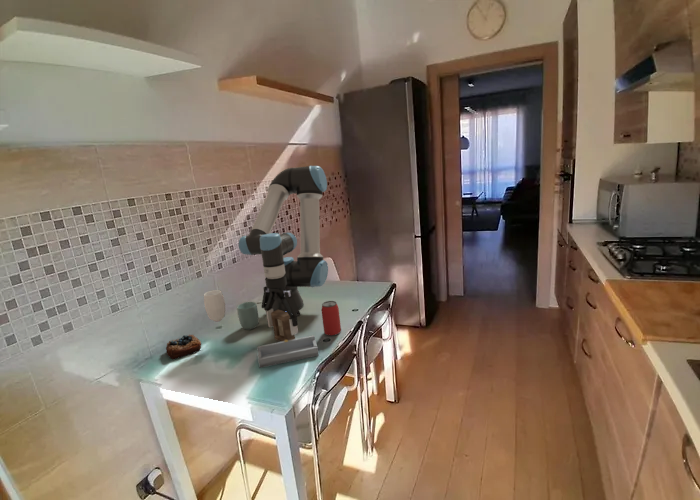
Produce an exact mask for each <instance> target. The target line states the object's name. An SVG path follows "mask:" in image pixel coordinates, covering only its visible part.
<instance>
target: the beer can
mask: <svg viewBox="0 0 700 500" xmlns="http://www.w3.org/2000/svg"><path fill="white" fill-rule="evenodd" d="M340 317H341V316H340V310H339V306H338V303H337V301H336V300H326V301H325V302H323V303H322V304H321V318H322V319H321V320H322V326H323V333H324V334H325V335H326V336H328V337H329V336H331V337H332V336H336V335H339V334H340V333H341V331H342V328H341V319H340Z"/></svg>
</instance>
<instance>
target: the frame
mask: <svg viewBox="0 0 700 500" xmlns="http://www.w3.org/2000/svg"><path fill="white" fill-rule="evenodd" d="M271 317H272V324H273V326H272V330H273V334H274V335H273V336H274V340H276V341H278V342H282V341H284V340H292V339H296V334H294V335H291V330H290V322H289V318H290V316H289V314H288V313H287V312H285V311H282V310H276V311H273V312H271Z"/></svg>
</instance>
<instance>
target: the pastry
mask: <svg viewBox="0 0 700 500" xmlns="http://www.w3.org/2000/svg"><path fill="white" fill-rule="evenodd" d="M201 348H202V342H201V340H200V339H199V338H198V337H197V336H195V335H194V334H187V335H183V336H182V337H179V338H177V339H172V340H169V341H168V342H167V343H166V347H165V349H166V351H165V352H166V354H167V356H168V357H169V358H170V359H171V360H173V361H174V360H176V359H179V358H180V359H181V358H184V357H186V356H189V355H193V354H195V353H197V352H199V350H200V349H201ZM200 351H201V350H200ZM194 352H195V353H194Z"/></svg>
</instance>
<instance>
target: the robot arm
mask: <svg viewBox="0 0 700 500" xmlns="http://www.w3.org/2000/svg"><path fill="white" fill-rule="evenodd" d="M327 180H328V179H327V176H326V173H325V171H324V169H323V168H322V167H321V166H319V165H308V166H297V167H288V168H286V169H284V170H282V171H280V172H279V173H278V174H277V175H275V176H274V178H273V179H272V181H271V182H270V184H269V185H268V188H267V195H266V197H265V200H264V202H263V204H262V206H261V207H260V210H259V212H258V215H257V217H256V219H255V221H254V223H253V225H252V227H251V229H250V231H249V234H248V235H242V236H241V237H240V238H239V240H238V249H239V251H240V253H241V254H243V255H251V256H253V255H254V256H255V255H261V259H262V266H263V272H264V273H263V274H264V277H265V279H264V281H265V286H264V287H263V294H262V295H263V296H262V302H261V305H260V306H261V309H264V310H265V314H266V318H267V324H268V328H271V327H272V328H273V324H272V317H271V312H273V311H276V310H282V311H287V313H288V314H289V316H290V318H289V322H290V330H291V335H294V334H295V335H296V334H299V330H298V328H299V327H298V324H299V323H298V317H300V316H301V311H300V309H302V308H303V307H304V299H303V298H302V296H301V293H300V292H299V289H298V288H301V287H302V288H315V287H316V288H319V287H323V286H324V284H325V283H326V282H327V278H328V275H329V274H328V273H329V265H328V262H327V261H326V260H324V256H323V255H322V254H321V244H320V243H321V242H320V241H321V240H320V238H321V237H320V235H321V234H320V232H321V231H320V228H321V227H320V226H321V225H320V200H321V199H322V197H323V196H324V195H323V193H324V192H326V191H327V190H328V181H327ZM294 194H296V198H298V199H299V204H300V205H299V208H300V209H299V210H300V211H299V213H300V214H299V215H300V216H299V220H300V221H299V222H300V224H299V227H300V238H299V239H300V253H299V254H298V255H297V258H296V260H295V259H294V257H293V256H287V257H284V256H285V255H287V254H289V253H291V252H293V251H294V250H295V249H296V248H297V246H298V240H297V237H296V235H295V234H293V233H291V232H290V231H289V232H282V233H279V232H273V233H271V232H272V230H273V228H274V225H275V223H276V221H277V219H278V217H279V213H280V211H281V210H282V206H283V204H284V202H285V201H287V200H288V198H289V196H290V195H294Z"/></svg>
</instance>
